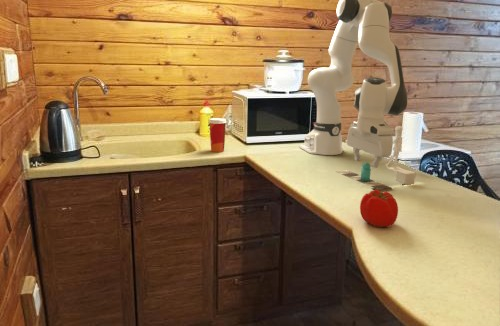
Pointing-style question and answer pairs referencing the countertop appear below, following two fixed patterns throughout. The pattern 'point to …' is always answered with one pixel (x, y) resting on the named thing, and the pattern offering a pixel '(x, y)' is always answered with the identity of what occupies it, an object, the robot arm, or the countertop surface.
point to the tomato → (379, 208)
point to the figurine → (396, 148)
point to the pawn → (365, 172)
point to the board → (371, 183)
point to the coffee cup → (217, 134)
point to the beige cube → (405, 177)
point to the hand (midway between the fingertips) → (365, 163)
